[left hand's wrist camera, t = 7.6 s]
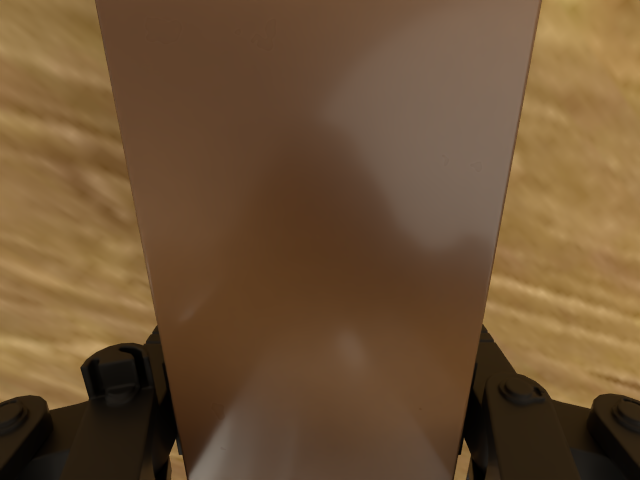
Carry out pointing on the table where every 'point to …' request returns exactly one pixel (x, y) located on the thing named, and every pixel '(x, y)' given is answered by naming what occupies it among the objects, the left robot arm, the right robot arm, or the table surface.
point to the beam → (319, 219)
